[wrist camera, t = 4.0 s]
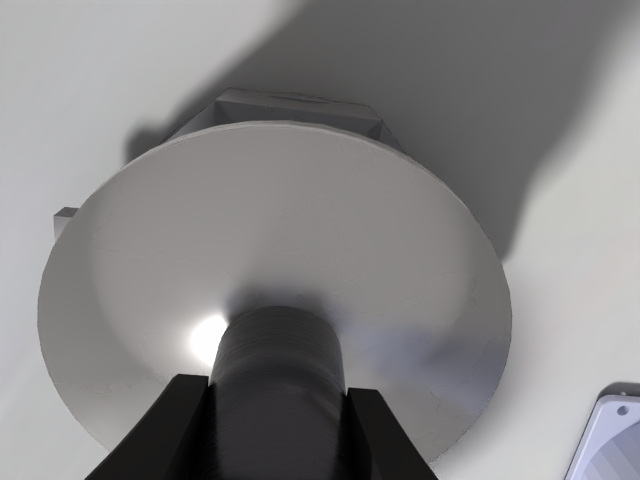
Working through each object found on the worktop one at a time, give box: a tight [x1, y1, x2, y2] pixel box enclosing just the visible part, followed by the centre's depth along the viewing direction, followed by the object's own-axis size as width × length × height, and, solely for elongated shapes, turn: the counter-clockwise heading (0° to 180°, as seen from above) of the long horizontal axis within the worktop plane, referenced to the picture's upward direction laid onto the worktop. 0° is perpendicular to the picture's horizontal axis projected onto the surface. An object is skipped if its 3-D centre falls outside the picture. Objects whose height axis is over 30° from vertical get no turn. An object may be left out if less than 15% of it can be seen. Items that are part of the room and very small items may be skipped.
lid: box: [37, 120, 512, 480], centre depth 10 cm, size 10×10×5 cm
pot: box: [54, 88, 407, 243], centre depth 17 cm, size 14×11×3 cm
